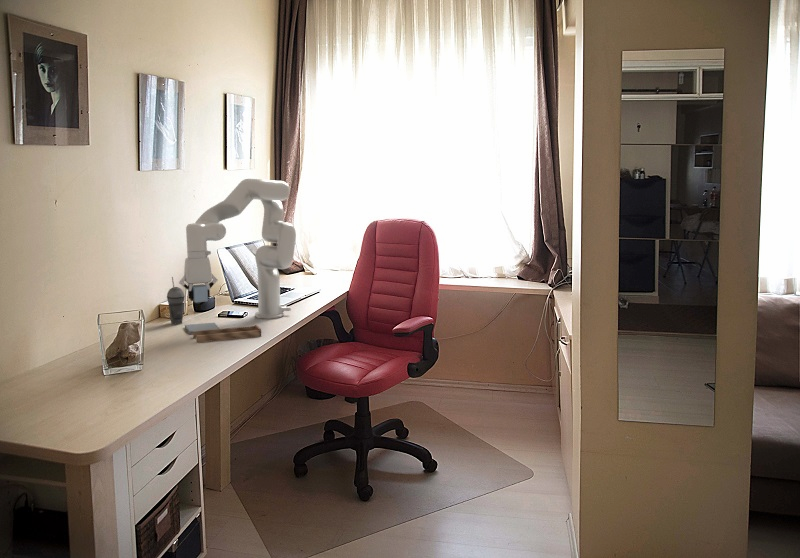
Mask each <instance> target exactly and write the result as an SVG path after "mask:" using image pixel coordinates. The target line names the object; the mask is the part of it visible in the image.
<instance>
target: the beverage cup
mask: <svg viewBox="0 0 800 558" xmlns="http://www.w3.org/2000/svg"><path fill="white" fill-rule="evenodd" d="M171 280H172V281H171V282H172V288H169V290H168V291H167V294H166V300H167V302H168V303H167V304H168V309H169V319H170V324H171V325H175V326H176V325H182V324H183V320H184V319H183V317H184V305H185V304H184V303H185V297H186V296H185V292H184V290H183V289H182V288H180V287H177V286H175V281H174V277H173V276H171Z"/></svg>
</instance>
